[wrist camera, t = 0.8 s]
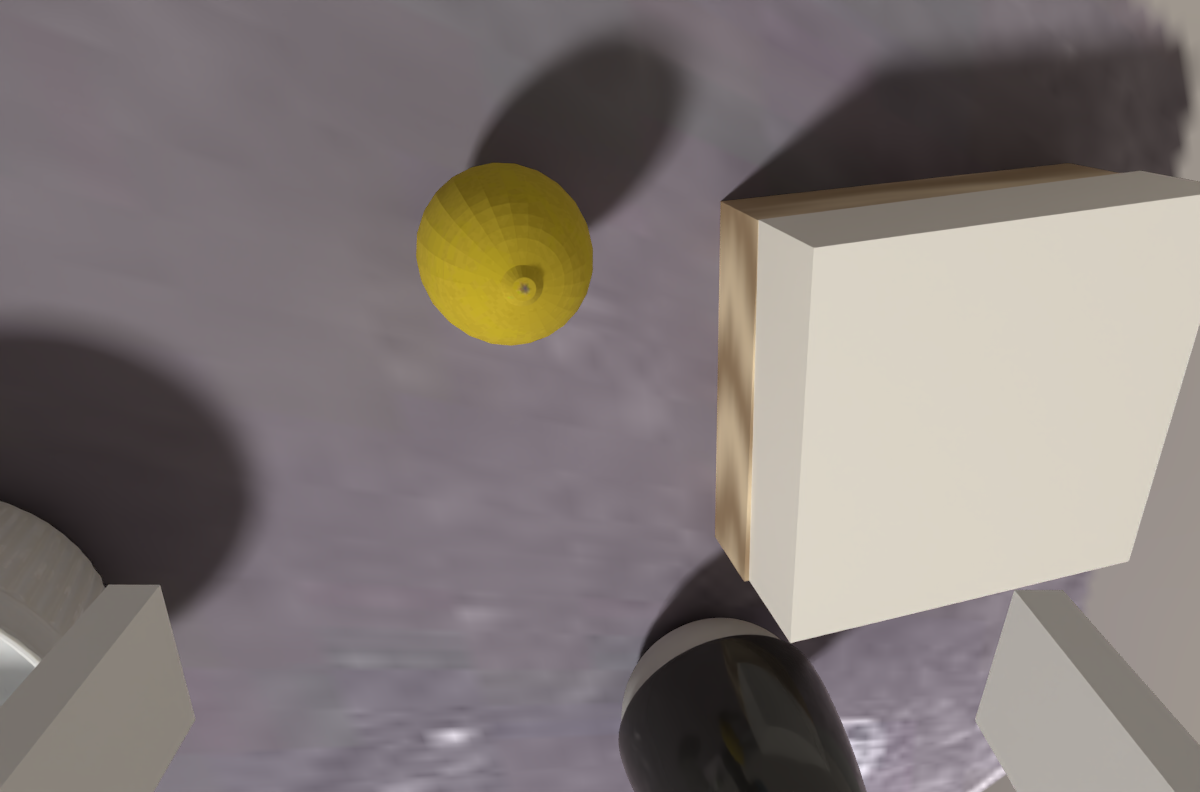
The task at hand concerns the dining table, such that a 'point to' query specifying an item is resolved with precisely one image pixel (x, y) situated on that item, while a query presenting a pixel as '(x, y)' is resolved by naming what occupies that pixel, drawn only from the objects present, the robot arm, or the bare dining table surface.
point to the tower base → (741, 315)
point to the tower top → (963, 391)
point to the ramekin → (37, 592)
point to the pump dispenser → (732, 716)
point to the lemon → (504, 253)
